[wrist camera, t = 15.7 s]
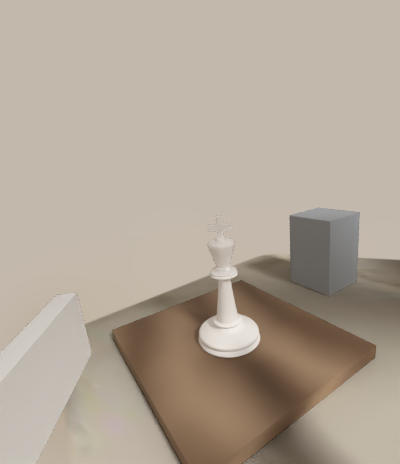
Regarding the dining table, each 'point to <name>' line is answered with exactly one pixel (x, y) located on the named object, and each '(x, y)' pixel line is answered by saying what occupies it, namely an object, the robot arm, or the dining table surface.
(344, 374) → the walnut pad
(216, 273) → the chess piece
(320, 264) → the slate block
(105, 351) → the dining table surface
